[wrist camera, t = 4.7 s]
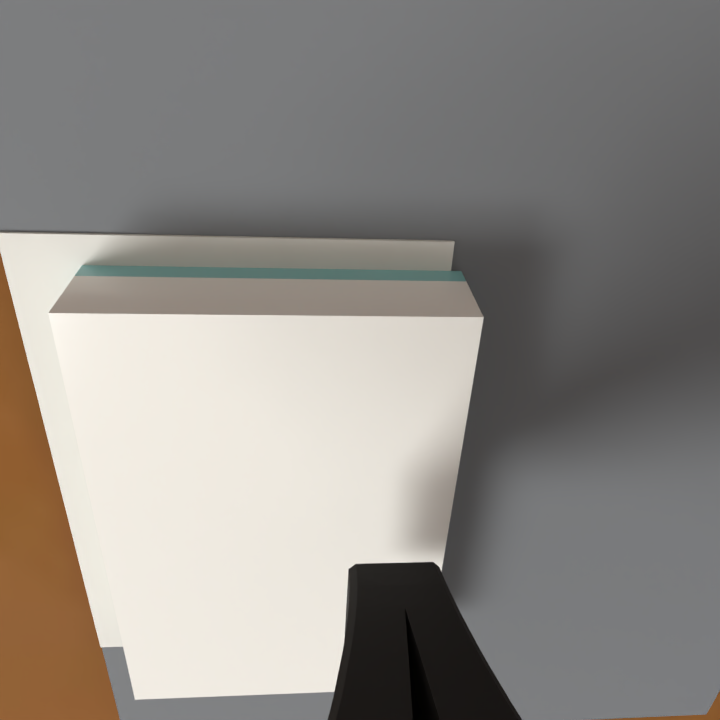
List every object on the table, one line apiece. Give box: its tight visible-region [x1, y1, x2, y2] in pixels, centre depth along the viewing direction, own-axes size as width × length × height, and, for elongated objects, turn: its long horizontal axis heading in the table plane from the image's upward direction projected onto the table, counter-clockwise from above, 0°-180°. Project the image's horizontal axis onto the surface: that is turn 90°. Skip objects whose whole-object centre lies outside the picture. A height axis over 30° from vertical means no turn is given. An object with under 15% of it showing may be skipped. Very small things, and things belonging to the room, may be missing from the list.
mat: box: [0, 0, 720, 720], centre depth 13 cm, size 16×18×1 cm
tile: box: [48, 265, 484, 700], centre depth 12 cm, size 2×9×6 cm
